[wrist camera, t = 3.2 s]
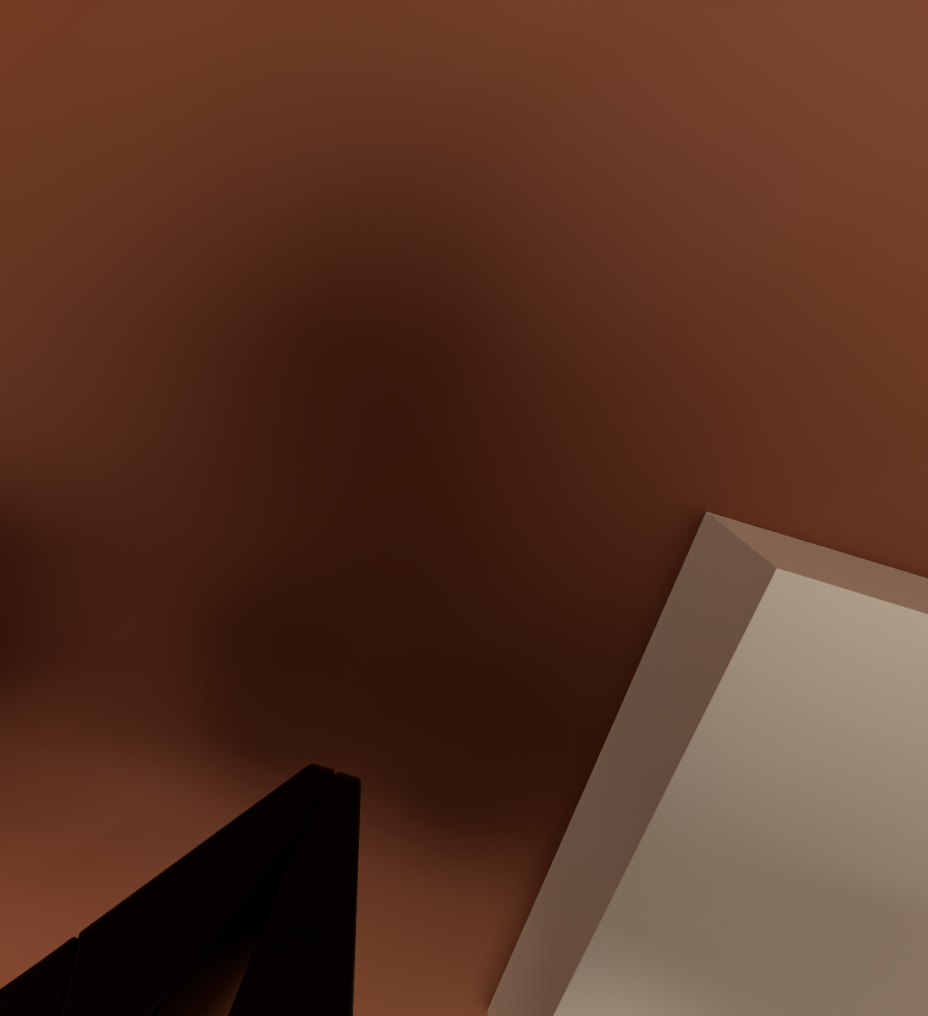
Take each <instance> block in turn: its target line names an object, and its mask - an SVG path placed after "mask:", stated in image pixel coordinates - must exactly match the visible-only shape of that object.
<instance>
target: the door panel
mask: <svg viewBox="0 0 928 1016" xmlns="http://www.w3.org/2000/svg"><path fill="white" fill-rule="evenodd" d="M487 1016H928V578H925V577H921V576H918V575H915V574H912V573H908V572H905V571H902V570H898V569H895V568H892V567H888V566H885V565H882V564H878V563H875V562H872V561H869V560H865V559H862V558H859V557H855V556H852V555H849V554H845V553H842V552H839V551H835V550H832V549H829V548H825V547H822V546H819V545H816V544H812V543H809V542H806V541H802V540H799V539H796V538H792V537H789V536H786V535H782V534H779V533H776V532H773V531H769V530H766V529H763V528H759V527H756V526H753V525H749V524H746V523H743V522H739V521H736V520H733V519H730V518H726V517H723V516H720V515H716V514H713V513H710V512H706V513H705V516H704V518H703V520H702V522H701V525H700V527H699V529H698V532H697V534H696V536H695V538H694V541H693V543H692V545H691V547H690V550H689V552H688V554H687V557H686V559H685V561H684V563H683V566H682V568H681V570H680V573H679V575H678V577H677V579H676V582H675V584H674V586H673V588H672V591H671V593H670V595H669V598H668V600H667V602H666V604H665V607H664V609H663V611H662V614H661V616H660V618H659V620H658V623H657V625H656V627H655V629H654V632H653V634H652V636H651V639H650V641H649V643H648V645H647V648H646V650H645V652H644V655H643V657H642V659H641V661H640V664H639V666H638V668H637V670H636V673H635V675H634V677H633V680H632V682H631V684H630V686H629V689H628V691H627V693H626V696H625V698H624V700H623V702H622V705H621V707H620V709H619V711H618V714H617V716H616V718H615V721H614V723H613V725H612V727H611V730H610V732H609V734H608V737H607V739H606V741H605V743H604V746H603V748H602V750H601V752H600V755H599V757H598V759H597V762H596V764H595V766H594V768H593V771H592V773H591V775H590V778H589V780H588V782H587V784H586V787H585V789H584V791H583V793H582V796H581V798H580V800H579V803H578V805H577V807H576V809H575V812H574V814H573V816H572V819H571V821H570V823H569V825H568V828H567V830H566V832H565V834H564V837H563V839H562V841H561V844H560V846H559V848H558V850H557V853H556V855H555V857H554V860H553V862H552V864H551V866H550V869H549V871H548V873H547V875H546V878H545V880H544V882H543V885H542V887H541V889H540V891H539V894H538V896H537V898H536V901H535V903H534V905H533V907H532V910H531V912H530V914H529V916H528V919H527V921H526V923H525V926H524V928H523V930H522V932H521V935H520V937H519V939H518V942H517V944H516V946H515V948H514V951H513V953H512V955H511V957H510V960H509V962H508V964H507V967H506V969H505V971H504V973H503V976H502V978H501V980H500V983H499V985H498V987H497V989H496V992H495V994H494V996H493V998H492V1001H491V1003H490V1005H489V1008H488V1014H487Z"/></svg>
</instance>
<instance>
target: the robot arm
mask: <svg viewBox="0 0 928 1016" xmlns="http://www.w3.org/2000/svg"><path fill="white" fill-rule="evenodd" d="M360 800H361V780H360V779H359V778H358V777H355V776H352V775H349V774H346V773H343V772H337V773H336V774H335V772H334V770H333V769H330V768H327V767H324V766H321V765H318V764H310V765H308V766H306V767H305V768H304V769H302V770H301V771H300V772H298V773H297V774H295V775H294V776H293V777H291V778H290V779H289V780H287V781H286V782H285V783H283V784H282V785H280V786H279V787H278V788H276V789H275V790H274V791H272V792H271V793H269V794H268V795H267V796H265V797H264V798H263V799H261V800H260V801H259V802H257V803H256V804H254V805H253V806H252V807H250V808H249V809H248V810H246V811H245V812H244V813H242V814H241V815H239V816H238V817H237V818H235V819H234V820H233V821H231V822H230V823H229V824H227V825H226V826H224V827H223V828H222V829H220V830H219V831H218V832H216V833H215V834H213V835H212V836H211V837H209V838H208V839H207V840H205V841H204V842H203V843H201V844H200V845H198V846H197V847H196V848H194V849H193V850H192V851H190V852H189V853H188V854H186V855H185V856H183V857H182V858H181V859H179V860H178V861H177V862H175V863H174V864H172V865H171V866H170V867H168V868H167V869H166V870H164V871H163V872H162V873H160V874H159V875H157V876H156V877H155V878H153V879H152V880H151V881H149V882H148V883H147V884H145V885H144V886H142V887H141V888H140V889H138V890H137V891H136V892H134V893H133V894H132V895H130V896H129V897H127V898H126V899H125V900H123V901H122V902H121V903H119V904H118V905H116V906H115V907H114V908H112V909H111V910H110V911H108V912H107V913H106V914H104V915H103V916H101V917H100V918H99V919H97V920H96V921H95V922H93V923H92V924H90V925H89V926H88V927H86V928H85V929H84V930H82V931H81V932H80V934H79V937H78V939H77V938H76V937H72V938H71V939H69V940H68V941H67V942H65V943H64V944H63V945H61V946H60V947H59V948H57V949H56V950H55V951H53V952H52V953H50V954H49V955H48V956H46V957H45V958H44V959H42V960H41V961H40V962H38V963H37V964H35V965H34V966H33V967H31V968H30V969H28V970H27V971H25V972H24V973H23V974H21V975H20V976H18V977H17V978H15V979H14V980H13V981H11V982H10V983H8V984H7V985H5V986H4V987H3V988H1V989H0V1016H353V1001H354V972H355V943H356V914H357V886H358V857H359V828H360Z"/></svg>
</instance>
